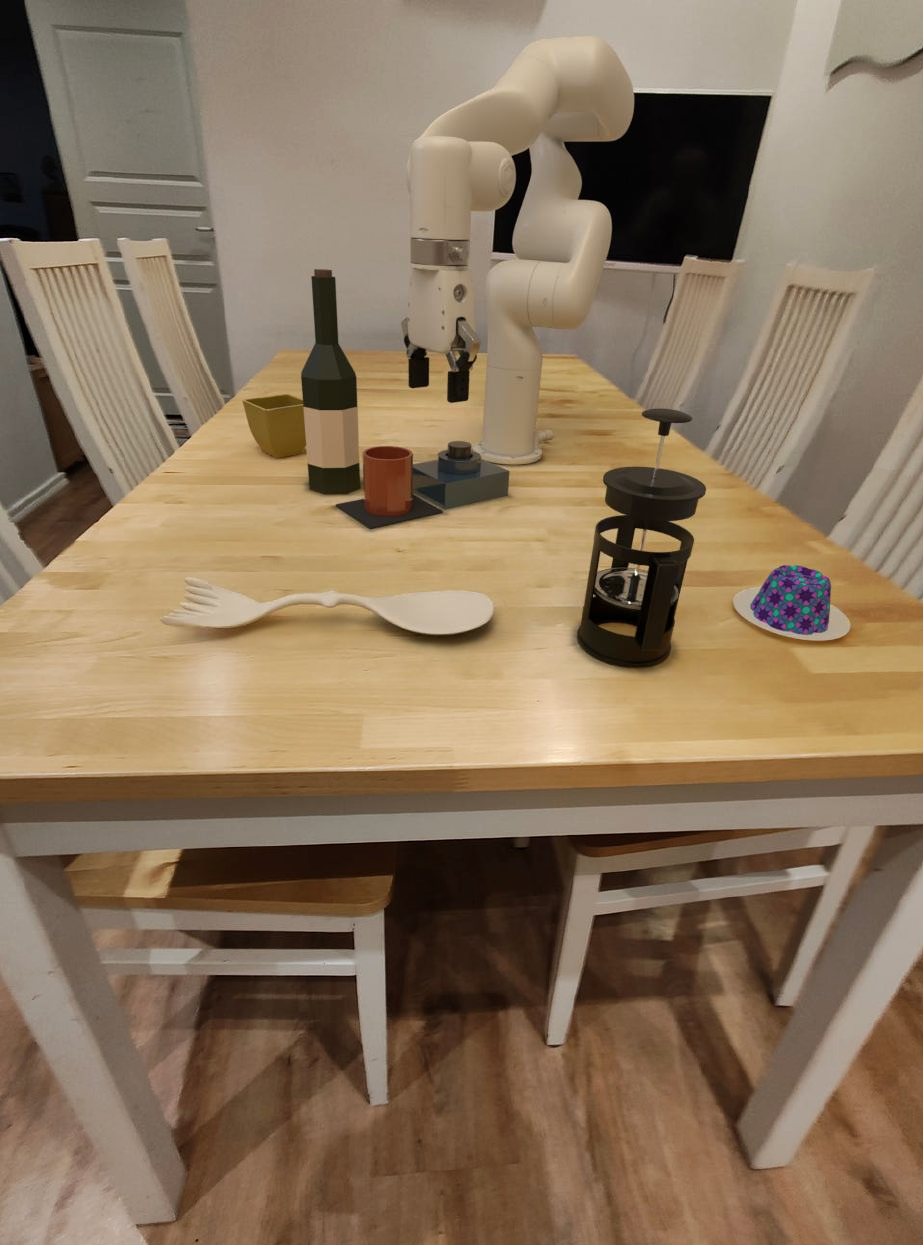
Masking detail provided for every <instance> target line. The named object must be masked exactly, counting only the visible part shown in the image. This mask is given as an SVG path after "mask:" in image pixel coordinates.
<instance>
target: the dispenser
mask: <svg viewBox="0 0 923 1245" xmlns="http://www.w3.org/2000/svg"><path fill="white" fill-rule="evenodd" d="M447 452H448V449H444V450H440V451H439V452H438V453H437V454H436V455H437V457H436V458H437V459H435V460H428V461H423V462H418V463H413V494H414V495H417V497H419V498H421V499H423V500H425V501H427V502H429V503H430V504H432V505H434V506H436V507H438V508H440V509H441V510H442V509H443V510H445V511H446V510H450V509H455V508H459V507H464V506H467V505H468V506H469V505H473V504H477V503H482V502H486V501H490V500H496V499H500V498H504V497H508V496H509V485H510V474H511V473H510V472H511V470H508V469H506V468H504V467H502V466H499V465H497V464H495V463H492V462H488V461H485V460H483V459H481V455H480V454H479V453H477V452H475V451H473V450H471V458H468V459H453V458H449V457H447Z"/></svg>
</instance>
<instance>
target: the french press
mask: <svg viewBox="0 0 923 1245" xmlns="http://www.w3.org/2000/svg"><path fill="white" fill-rule="evenodd" d="M641 416H642V417H643V418H645V419H647V420H650V421H654V422H659V424H658V431H657V435H658V436H660V439H659V443H658V449H657V453H656V454H657V455H656V460H655V465H654V467H652V466H621V467H616V468H613V469H610V470H608V471H606V472H605V473H604V474H603V476H602V482H603V484H604V485H605V487H606V489H605V495H604V503H605V504H606V506H608V507H609V508H610V509H611V510H613V511H615V512H617V513H619V514H620V515H612V516H609V517H605V518H602V519H601V520H599V521H598V522H597V523H596V524H595V528H594V533H593V534H594V535H593V544H592V549H591V550H592V551H591V557H590V564H589V568H588V576H587V583H586V589H585V597H584V602H583V607H582V613H581V620H580V624H579V626H578V629H577V631H576V641H577V643H578V645H579V647H580V648H581V649H582V650H583V651H584V652H585V653H586V654H587V655H589V656H591V657H592V658H594V659H596V660H598V661H600V662H602V663H605V664H608V665H610V666H611V665H612V666H616V667H619V668H627V669H628V668H629V669H645V668H651V667H654V666H657V665H660V664H662V663H663V662H665V661H666V660H668V658H669V657H670V655H671V651H672V638H673V634H674V628H675V625H676V620H675V616H676V613H677V607H678V604H679V599H680V595H681V590H682V586H683V581H684V578H685V573H686V569H687V565H688V560H689V559H690V558H691V556H692V552H693V548H694V544H695V538H694V535H693V534H692V533H691V531H689V530H688V529H686V528H685V527H683V526H681V525H680V524H677V523H675V522H677V521H683V520H687V519H689V518H692V517H693V516H695V515H696V512H697V507H698V504H699V500H700V499H702V498H703V497H705V495H706V492H707V487H706V485H705V484H704V483H703V482H702V481H701V480H700V479H698V478H696V477H693V476H691V475H688V474H686V473H682V472H680V471H675V470H671V469H666V468H660V464H661V459H662V453H663V449H664V443H665V438H666V437H668V436H669V435H670V432H671V428H672V424H687V423H691V422H692V421H693V417H692V416H691V415H690V414H688V413H686V412H683V411H681V410H677V409H672V408H660V407H659V408H650V409H646V410H643V411H642V412H641ZM636 529H638V530H642V531H641V532H642V533H641V538H640V543H639V547H638V548H639V549H636V548H635V549H634V548H632V547H633V542H634V538H635V532H636ZM611 530H617V532H616V537H615V543H614V542H613V541H611V540H608V539H607V538H606V537H604V536H603V535H602V533H605V532H606V531H611ZM647 531H651V532H656V533H661V534H663V535H666V536H669V537H671V538H674V539H675V540H677V541H679V542H680V544H679V549H677V550H671V551H648V550H644V546H645V541H646V535H647ZM601 553H603V554H604V555H606V556H608V557H610V558H612V561H611V566H610V567H609V568H605V569H601V570H599V564H600V558H601ZM629 564H631V565H632V564H633V565H635V567H634V568H633V567H629ZM641 566H645V567H648V569H647V570H645V569H641ZM598 570H599V571H598ZM607 624H626V625H630V626H634V627H635V632H634V636H633V635H626V634H621V633H617V632H614V631H611V630H608V629H606V628H603V627H601V625H607Z"/></svg>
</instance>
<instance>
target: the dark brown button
mask: <svg viewBox="0 0 923 1245" xmlns="http://www.w3.org/2000/svg"><path fill="white" fill-rule="evenodd" d="M472 446H473V444H472V443H471V442H468V441H466V440H465V441H463V440H452V441H448V443H447V450H448V452H447V457H449V458H453V459H468V458H471V451H473V447H472Z"/></svg>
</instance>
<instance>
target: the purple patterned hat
mask: <svg viewBox="0 0 923 1245" xmlns="http://www.w3.org/2000/svg"><path fill="white" fill-rule="evenodd" d="M831 597H832V583H831V580H830V579H829V577H827V575H824V574H823V573H822V572H821V571H818V570H816V569H815V568H808V567H806V566H803V565H797V564H796V565H790V564H783V565H781V566H778V567H777V568H774V569H773V570H772V571H771V572H770V573H769V574H768V576H767V578H766V579H765V581H764V582H763V584H762V586H755V587H754V586H753V587H748V588H745V589H742V590H739V591H738V592H736V593H735V595H734V596H733V600H732V603H733V607H734V609H735V610H736V611H737V613H738V614H740V616H742V617H743V618H744V619H745V620H747V621H748V622H750V623H751V624H753V625H755V626H757V627H759V628H761V629H763V630H766V631H768V632H771V633H774V634H777V635H780V636H783V637H788V638H791V639H797V640H805V641H830V640H831V641H832V640H837V639H840V638H842V637H844V636H846V635H847V634H849V632H850V630H851V622H850V619H849V618H848V616H847V615H846V614H845V613H844V612H843V611H842V610H841V609H839V608H838V607H837V606H835V605H833V604H832V603H831V599H832V598H831Z"/></svg>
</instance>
